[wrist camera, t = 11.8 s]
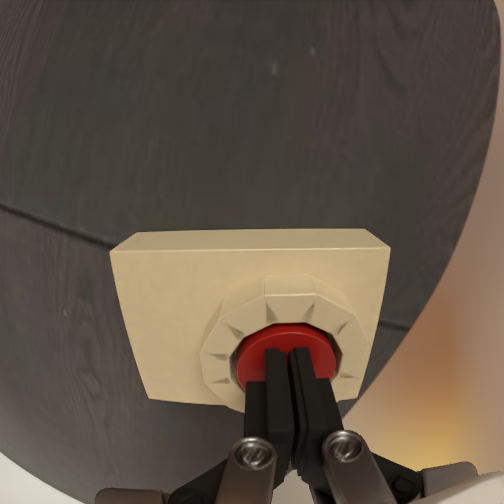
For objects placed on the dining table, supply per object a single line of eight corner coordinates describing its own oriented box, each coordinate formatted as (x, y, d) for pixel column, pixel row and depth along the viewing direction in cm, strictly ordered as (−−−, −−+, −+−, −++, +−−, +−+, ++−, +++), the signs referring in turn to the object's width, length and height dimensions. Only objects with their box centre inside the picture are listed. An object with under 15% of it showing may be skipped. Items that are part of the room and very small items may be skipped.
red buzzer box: (365, 228, 14) (411, 262, 9) (344, 364, 17) (365, 421, 12) (136, 232, 14) (87, 266, 9) (162, 365, 17) (139, 420, 12)
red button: (332, 306, 11) (342, 329, 10) (322, 375, 13) (328, 400, 11) (236, 309, 12) (233, 333, 10) (240, 378, 13) (238, 404, 11)
